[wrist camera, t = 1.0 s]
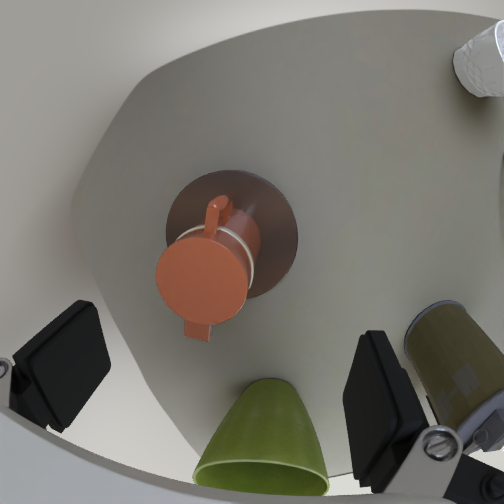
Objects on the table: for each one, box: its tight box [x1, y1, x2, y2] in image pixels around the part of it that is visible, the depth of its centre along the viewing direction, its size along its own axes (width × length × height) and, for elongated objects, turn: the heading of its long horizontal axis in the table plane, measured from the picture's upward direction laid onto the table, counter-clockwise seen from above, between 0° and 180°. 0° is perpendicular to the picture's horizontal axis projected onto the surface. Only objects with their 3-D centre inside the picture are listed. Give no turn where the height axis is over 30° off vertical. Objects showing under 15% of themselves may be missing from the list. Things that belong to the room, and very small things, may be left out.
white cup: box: [453, 20, 504, 97], centre depth 17 cm, size 8×8×10 cm
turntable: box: [166, 170, 298, 299], centre depth 31 cm, size 14×14×2 cm
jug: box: [156, 191, 261, 342], centre depth 25 cm, size 10×7×11 cm, turn 171°
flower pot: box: [193, 379, 330, 496], centre depth 31 cm, size 15×15×16 cm
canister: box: [404, 300, 504, 455], centre depth 23 cm, size 11×10×20 cm
